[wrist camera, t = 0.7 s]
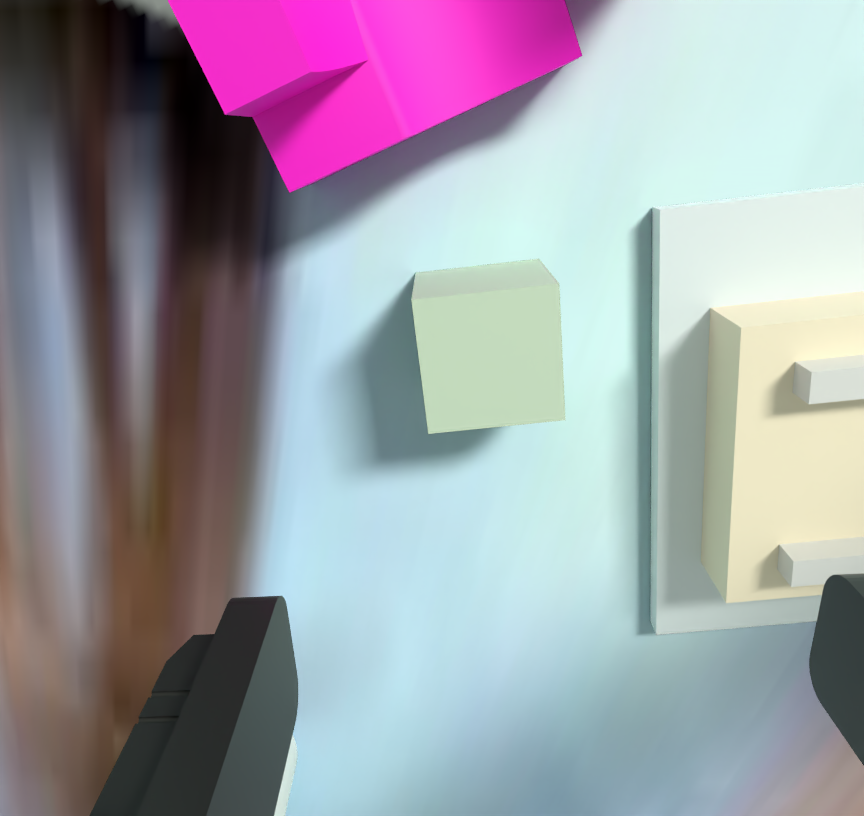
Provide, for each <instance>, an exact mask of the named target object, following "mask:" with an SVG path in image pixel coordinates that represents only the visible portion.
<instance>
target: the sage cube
mask: <svg viewBox="0 0 864 816" xmlns="http://www.w3.org/2000/svg"><path fill="white" fill-rule="evenodd" d="M411 301H412V309H413V317H414V325H415V333H416V341H417V349H418V357H419V365H420V372H421V380H422V388H423V396H424V404H425V412H426V420H427V428H428V434H433V433H442V432H452V431H462V430H472V429H482V428H492V427H502V426H512V425H521V424H531V423H541V422H551V421H561V420H565V402H564V380H563V358H562V336H561V314H560V291H559V283H558V282H557V280H556V279H555V278H554V277H553V275H552V274H551V273H550V272H549V270H548V269H547V268H546V267H545V265H544V264H543V263H542V262H541V261H540V259H532V260H523V261H514V262H505V263H496V264H487V265H478V266H470V267H461V268H452V269H443V270H434V271H425V272H416V273H415V280H414V286H413V292H412V299H411Z"/></svg>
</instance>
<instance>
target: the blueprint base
mask: <svg viewBox="0 0 864 816" xmlns="http://www.w3.org/2000/svg"><path fill="white" fill-rule="evenodd" d="M861 573H864V183H858V184H849V185H840V186H832V187H823V188H815V189H806V190H797V191H789V192H780V193H771V194H763V195H754V196H745V197H737V198H728V199H720V200H711V201H702V202H694V203H685V204H676V205H668V206H659V207H652V399H651V597H650V622H651V624H652V626H653V629H654V631H655V633H656V635H662V634H674V633H686V632H697V631H709V630H721V629H733V628H744V627H756V626H768V625H780V624H791V623H803V622H815V621H817V618H818V613H819V607H820V602H821V597H822V592H823V588H824V584H825V582H826V580H827V579H828V578H829V577H830V576H832V575H837V574H861Z"/></svg>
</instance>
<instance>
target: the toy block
mask: <svg viewBox="0 0 864 816" xmlns="http://www.w3.org/2000/svg"><path fill="white" fill-rule="evenodd" d="M168 2H169V4H170V6H171V8H172V10H173V12H174V14H175V16H176V18H177V20H178V22H179V24H180V26H181V28H182V30H183V32H184V34H185V36H186V38H187V40H188V42H189V44H190V46H191V48H192V50H193V52H194V54H195V56H196V58H197V60H198V62H199V64H200V66H201V68H202V70H203V72H204V74H205V76H206V78H207V80H208V81H209V83H210V85H211V87H212V89H213V91H214V93H215V95H216V97H217V99H218V101H219V103H220V105H221V107H222V109H223V111H224V113H225V115H235V116H246V117H253V119H254V121H255V123H256V125H257V127H258V129H259V131H260V133H261V135H262V138H263V140H264V142H265V144H266V146H267V148H268V150H269V152H270V154H271V156H272V158H273V160H274V162H275V164H276V166H277V168H278V170H279V172H280V174H281V176H282V179H283V181H284V183H285V185H286V187H287V189H288V191H289V193H290V192H292V191H295V190H298V189H300V188H303V187H305V186H308V185H310V184H313V183H315V182H317V181H319V180H321V179H323V178H325V177H328V176H330V175H332V174H334V173H336V172H338V171H340V170H343V169H345V168H347V167H349V166H351V165H353V164H355V163H357V162H360V161H362V160H364V159H366V158H368V157H370V156H372V155H375V154H377V153H379V152H381V151H383V150H385V149H387V148H389V147H392V146H394V145H396V144H398V143H400V142H402V141H404V140H407V139H409V138H411V137H413V136H415V135H417V134H419V133H421V132H424V131H426V130H428V129H430V128H432V127H434V126H436V125H439V124H441V123H443V122H445V121H447V120H449V119H451V118H453V117H456V116H458V115H460V114H462V113H464V112H466V111H468V110H471V109H473V108H475V107H477V106H479V105H481V104H483V103H485V102H488V101H490V100H492V99H494V98H496V97H498V96H500V95H503V94H505V93H507V92H509V91H511V90H513V89H515V88H517V87H520V86H522V85H524V84H526V83H528V82H530V81H532V80H535V79H537V78H539V77H541V76H543V75H545V74H547V73H549V72H552V71H554V70H556V69H558V68H560V67H562V66H564V65H566V64H568V63H570V62H572V61H574V60H575V59H577V58H579V57H581V56H582V53H581V50H580V47H579V44H578V41H577V38H576V34H575V31H574V28H573V25H572V22H571V19H570V15H569V12H568V9H567V6H566V3H565V0H168Z"/></svg>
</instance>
